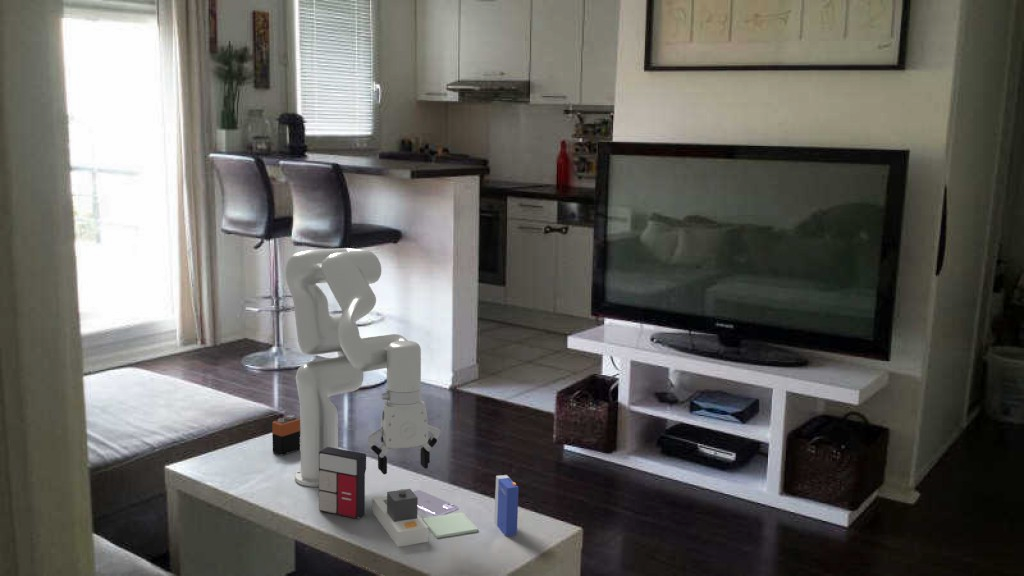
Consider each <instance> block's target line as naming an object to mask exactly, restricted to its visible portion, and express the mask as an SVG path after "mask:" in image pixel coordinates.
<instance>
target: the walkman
mask: <svg viewBox="0 0 1024 576" xmlns="http://www.w3.org/2000/svg"><path fill="white" fill-rule="evenodd" d="M494 491H495V492H494V519H493V520H494V522H493V523H494V524H495V525H496V526H497V528H498V529H499V530H500V531H501V532H502V534H503V535H504V536H505V537H511V536H517V535H518V512H519V486H518V484H517V483H516V482H515V481H513V480H512V478H510V476H508V474H504V475H502V474H501V475H500V474H499V475H496V476H495V490H494Z"/></svg>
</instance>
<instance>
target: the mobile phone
mask: <svg viewBox="0 0 1024 576" xmlns="http://www.w3.org/2000/svg"><path fill="white" fill-rule="evenodd" d="M412 492H413V493H414V494H415V495H416V496H417V497H418V510H420V511H422V512H425V513H427V514H429V515H431V514H432V516H440V515H446V514H450V513H452V512H453V511H457V510H458V509H459V507H458V505H457V504H454V503H452V502H449V501H447V500H444V499H442V498H440V497H438V496H434V495H432V494H430V493H427V492H425V491H423V490H420V489H419V490H418V489H416V490H413V491H412Z"/></svg>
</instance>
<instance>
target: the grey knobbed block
mask: <svg viewBox="0 0 1024 576" xmlns="http://www.w3.org/2000/svg"><path fill="white" fill-rule="evenodd" d="M386 496H387V513H388V514H389V516H390V517H391V518H392V520H393V521H394V522H397V521H403V520H410V519H416V518H417V514H418V510H419V509H418V497H417V496H416V495H415V494H414V493H413V491H412V489H411V488H405V489H404V488H402V489H401V488H400V489H398V490H390V491H387V492H386Z"/></svg>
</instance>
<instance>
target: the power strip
mask: <svg viewBox="0 0 1024 576" xmlns="http://www.w3.org/2000/svg"><path fill="white" fill-rule="evenodd" d="M371 502H372V505H371V506H372V508H371V509H372V511H371V513H373V515H374V516H375V517H376V519H377V520H378V521H379V523H380V524H381V525H382V527H383V528H384V530H385V532H386V533H387V534H388V535H389V537H390V538H391V539H392V541H393V542H394V543H395V545H396V546H397V547H398V548H400V547H405V546H411V545H418V544H423V543H428V542H429V528H428V526H427V525H426V524H425V523H424V521H423V520H422V518H421V516H420V515H419V514H418V513H417V518H416V519H410V520H403V521H397V522H394V521H393V520H392V518H391V517H390V516H389V514H388V513H387V495H384V496H383V495H382V496H377V497H372V501H371Z"/></svg>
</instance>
